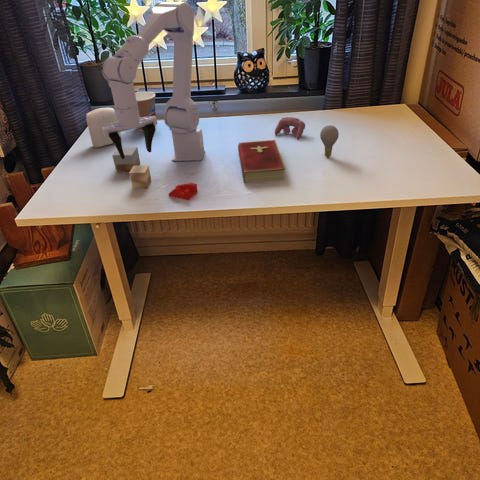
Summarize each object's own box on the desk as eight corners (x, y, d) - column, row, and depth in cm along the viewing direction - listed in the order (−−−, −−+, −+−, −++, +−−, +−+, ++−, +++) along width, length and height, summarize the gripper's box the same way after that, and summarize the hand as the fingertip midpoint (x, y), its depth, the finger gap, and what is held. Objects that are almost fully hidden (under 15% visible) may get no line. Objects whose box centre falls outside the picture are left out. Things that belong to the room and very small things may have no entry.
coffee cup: (157, 132, 161) (152, 99, 154) (130, 133, 162) (123, 100, 155) (162, 122, 170) (157, 90, 163) (135, 123, 170) (129, 92, 163)
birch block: (151, 180, 130) (148, 165, 127) (148, 188, 126) (144, 172, 123) (136, 181, 130) (133, 165, 127) (132, 188, 127) (129, 172, 124)
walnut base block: (140, 164, 140) (138, 155, 138) (135, 173, 135) (134, 164, 133) (122, 164, 140) (120, 156, 139) (116, 173, 136) (114, 164, 134)
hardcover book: (243, 184, 126) (242, 171, 124) (238, 154, 143) (237, 141, 141) (285, 181, 126) (285, 167, 124) (275, 151, 143) (275, 139, 141)
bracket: (197, 193, 123) (196, 184, 121) (188, 201, 119) (186, 191, 118) (178, 189, 125) (177, 179, 124) (168, 197, 122) (167, 187, 120)
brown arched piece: (303, 140, 152) (308, 120, 151) (298, 139, 148) (303, 118, 147) (278, 136, 157) (282, 116, 155) (272, 134, 153) (277, 114, 151)
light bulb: (340, 156, 137) (342, 125, 131) (330, 162, 134) (332, 130, 128) (325, 151, 140) (327, 121, 134) (315, 157, 137) (317, 126, 131)
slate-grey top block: (139, 155, 138) (137, 146, 137) (133, 164, 133) (131, 155, 132) (120, 156, 139) (118, 147, 137) (114, 164, 134) (112, 155, 132)
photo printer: (119, 138, 159) (111, 103, 152) (123, 141, 156) (116, 106, 149) (91, 145, 154) (82, 110, 147) (95, 149, 151) (86, 114, 144)
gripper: (147, 96, 121) (155, 143, 128) (94, 107, 115) (106, 155, 123) (156, 103, 115) (164, 151, 123) (101, 114, 110) (113, 164, 118)
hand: (136, 154), depth 123 cm, fingers open, 7 cm apart
